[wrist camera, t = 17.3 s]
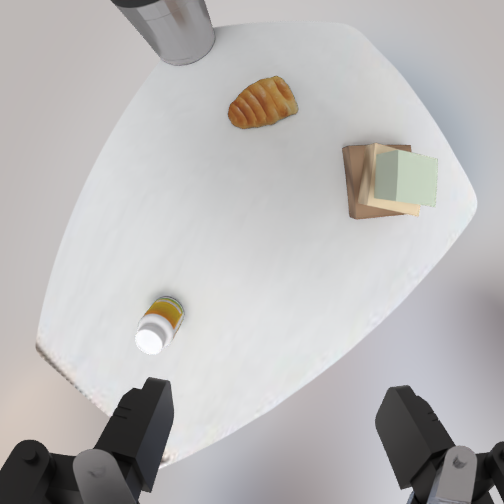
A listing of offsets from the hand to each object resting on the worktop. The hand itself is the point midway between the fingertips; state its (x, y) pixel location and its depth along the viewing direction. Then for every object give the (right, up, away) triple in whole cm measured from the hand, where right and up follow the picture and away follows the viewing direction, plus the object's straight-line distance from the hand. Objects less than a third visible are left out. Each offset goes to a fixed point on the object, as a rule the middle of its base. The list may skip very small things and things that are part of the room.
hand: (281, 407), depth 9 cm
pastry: (+1, +26, +27) cm, 38 cm away
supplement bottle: (-14, -4, +34) cm, 38 cm away
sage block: (+17, +15, +23) cm, 32 cm away
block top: (+18, +15, +26) cm, 35 cm away
